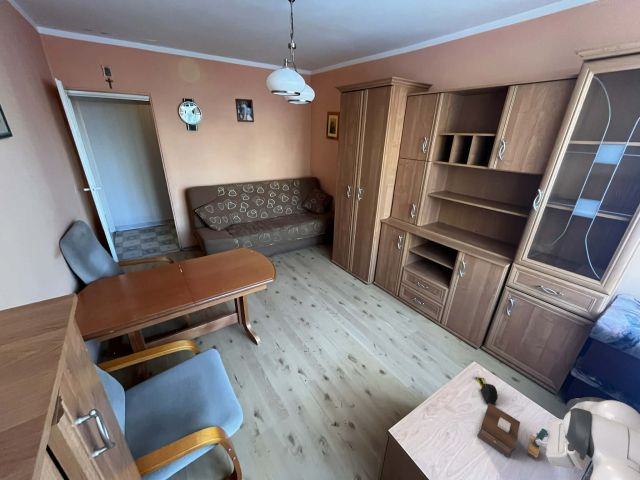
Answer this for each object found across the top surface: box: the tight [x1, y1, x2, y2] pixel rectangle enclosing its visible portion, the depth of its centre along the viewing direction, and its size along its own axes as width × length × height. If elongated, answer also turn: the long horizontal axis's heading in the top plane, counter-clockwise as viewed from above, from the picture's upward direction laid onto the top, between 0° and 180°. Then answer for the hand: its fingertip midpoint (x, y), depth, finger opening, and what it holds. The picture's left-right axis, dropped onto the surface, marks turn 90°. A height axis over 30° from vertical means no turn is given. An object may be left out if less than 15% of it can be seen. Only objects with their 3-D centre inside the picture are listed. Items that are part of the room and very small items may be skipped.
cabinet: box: [476, 403, 521, 458], centre depth 118 cm, size 15×13×8 cm
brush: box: [526, 428, 548, 460], centre depth 112 cm, size 8×3×13 cm, turn 138°
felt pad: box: [498, 417, 511, 432], centre depth 116 cm, size 4×4×2 cm
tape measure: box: [475, 376, 499, 406], centre depth 137 cm, size 15×4×8 cm, turn 171°
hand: (536, 438), depth 112 cm, fingers closed on brush, 2 cm apart
